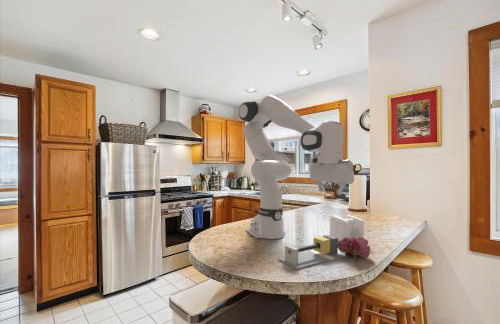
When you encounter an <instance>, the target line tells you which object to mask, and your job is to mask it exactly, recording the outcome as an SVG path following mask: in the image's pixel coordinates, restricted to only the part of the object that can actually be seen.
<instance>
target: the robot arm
mask: <svg viewBox="0 0 500 324" xmlns="http://www.w3.org/2000/svg"><path fill="white" fill-rule="evenodd" d="M238 117H239V118H240V119H241V120H242V121H243V122H245V123H246V125H245V126H244V128H243V135H244V137H245V140H246V143H247V146H248V149H250V151H251V154H252V156H253V157H254V158H255V159H257V160H256V161H254V162H253V163H252V164H251V167H250V173H251V175H252V177H253V179H254V180H255V182H256V183H257V186H258V188H259V193H260V202H259V203H260V206H259V207H258V208H257V211H258V213H257V215H255V216H254V217H253V218H252V219H251V220H250V227H247V228H246V229H245V231H246V232H247V233H248V234H250V235H251V236H253V237H254V238H255V239H266V240H267V239H268V240H269V239H270V240H276V239H281V238H282V239H283V238H285V234H286V231H285V226H284V223H285V222H284V218H283V213H284V211H283V205H282V204H283V193H282V191H281V189H279V187H278V184H277V182H278V181H283V180H285V179H287V178H289V177H291V173H292V167H291V165H290V164H289V162H288V161H285V160H284V159H283V158H282V157H281V156H280V155H279V154H278V152H277V151H276V150H275V149H274V147H273V146H272V144H271V143H270V140H269V138H268V137H267V135H266V133H265V131H264V128H265V129H266V128H267V127H268V126H269V125H270V124H271V123H273V124H275V125H277V126H279V127H281V128H284V129H289V130H293V131H296V132H298V133H300V134H301V136H300V141H299V142H300V146H301V148H302V149H303V150H304V151H306V152H311V153H317V154H318V153H319V154H318V155H317V156H314V157H312V158H311V159H310V164H311V166H310V171H309V178H310V180H311V181H316V185H317V187H318V192H321V193H322V192H325V187H323V182H328V183H334V184H335V183H336V184H338V186H339V188H338V189H336V192H335V193H336V195H338V196H339V195H340V196H341V195H343V191H344V190H345V189H344V188H346V185H352V184H353V183H354V182H355V173H354V163H353V161H351V160H349V159H343V154H344V152H343V144H344V128H343V124H341V123H340V122H339V121H334V120H324V121H323V122H322V123H321V124H319V125H317V126H316V127H315V126H314V125H313V124H311V123H309V122H308V121H307V120H306V119H304V118H303V117H302V116H300V115H299V114H298V113H297V112H296V111H295V110H294V109H293V108H292V107H291V106H290V105H288V104H287V103H286V102H284V100H281V98H278V97H276V96H274V95H267V96H265V97H263V98H262V100H261V101H260V102H256V101H245V102H242V103H241V104H240V106H239V108H238Z"/></svg>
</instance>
